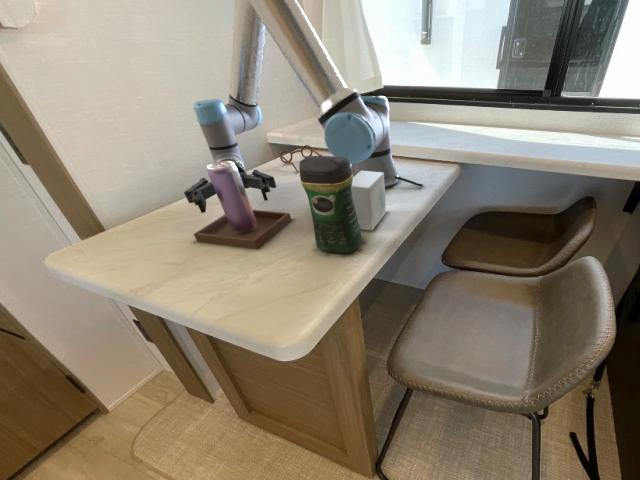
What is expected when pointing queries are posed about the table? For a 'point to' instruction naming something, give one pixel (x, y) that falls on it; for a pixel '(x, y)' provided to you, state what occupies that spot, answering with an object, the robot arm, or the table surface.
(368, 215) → the cosmetics box
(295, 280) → the table surface
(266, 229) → the tray
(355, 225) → the coffee jar
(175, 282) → the table surface
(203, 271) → the table surface
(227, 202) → the beverage can
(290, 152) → the glasses
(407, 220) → the table surface
